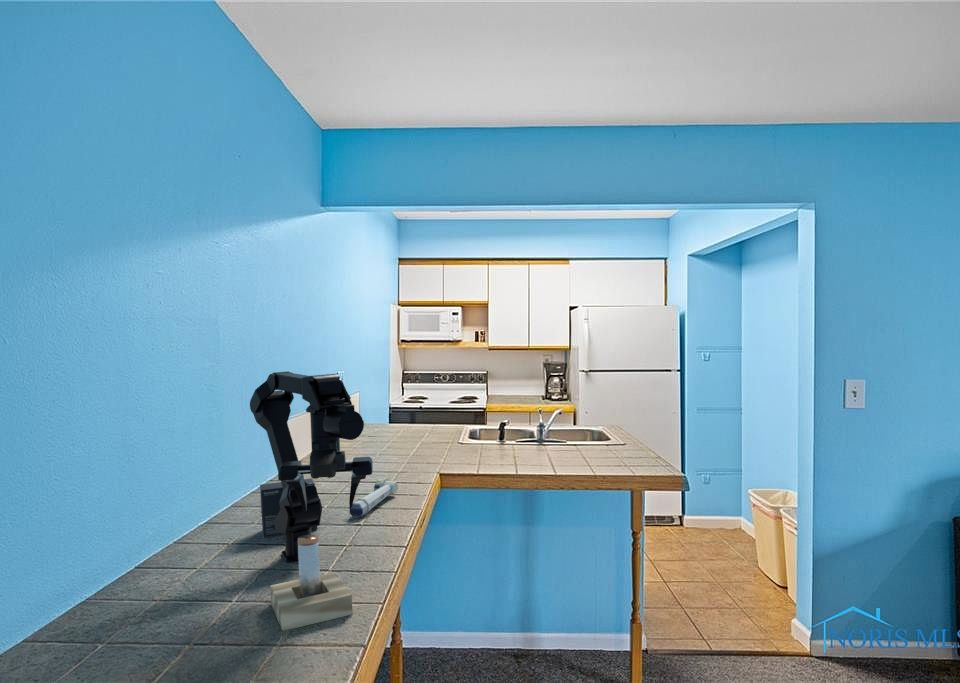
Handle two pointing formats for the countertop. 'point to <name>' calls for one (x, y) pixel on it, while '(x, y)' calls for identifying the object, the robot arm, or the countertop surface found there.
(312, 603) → the socket block
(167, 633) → the countertop surface
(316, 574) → the copper capped silver cylinder
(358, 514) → the white blue cylinder
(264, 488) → the small box
